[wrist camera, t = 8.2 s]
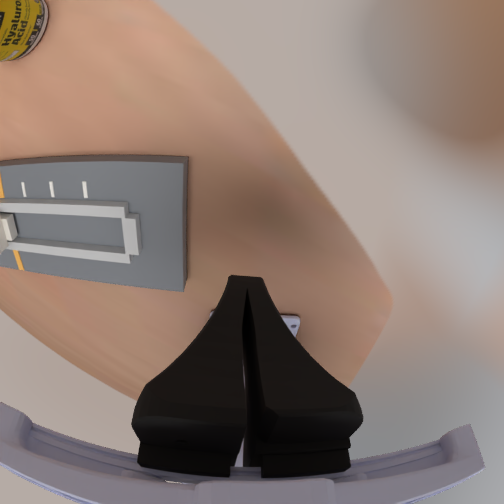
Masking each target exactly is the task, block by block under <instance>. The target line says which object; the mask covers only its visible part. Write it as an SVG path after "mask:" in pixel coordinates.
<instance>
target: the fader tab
mask: <svg viewBox="0 0 504 504" xmlns="http://www.w3.org/2000/svg"><path fill="white" fill-rule="evenodd" d="M17 236H18V233H17V230H16V226H15V222H14V218H13V214H4V213H0V254H1V253H2V252H3V251H4V250H5V249H6V248H7V247H8V246H9V245H8V242H7V240H9V241H13V240H14V239H15V238H16V237H17Z"/></svg>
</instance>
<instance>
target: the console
mask: <svg viewBox="0 0 504 504" xmlns="http://www.w3.org/2000/svg"><path fill="white" fill-rule="evenodd" d="M187 175H188V157H184V156H160V155H77V156H56V157H40V158H27V159H16V160H6V161H0V213H4V214H13V218H14V222H15V226H16V230H17V233H18V236H17V237H16V238H15V239H14V240H13V241H9V240H7V242H8V245H9V246H8V247H7V248H6V249H5V250H4V251H3V252H2V253H1V254H0V266H1V267H7V268H12V269H18V270H24V271H29V272H35V273H41V274H48V275H54V276H60V277H67V278H74V279H81V280H88V281H95V282H102V283H110V284H118V285H126V286H134V287H142V288H151V289H160V290H169V291H179V292H184V288H185V284H186V280H187V262H186V217H187Z"/></svg>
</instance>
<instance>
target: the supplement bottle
mask: <svg viewBox="0 0 504 504" xmlns="http://www.w3.org/2000/svg"><path fill="white" fill-rule="evenodd" d="M47 19H48V9H47V5H46V3H45V1H44V0H0V61H10V60H16V59H19V58H21V57H23V56H25V55H26V54H28V53H29V52H30V51H31V50H32V49H33V48H34V47H35V46H36V44H37V43H38V42H39V40H40V38H41V37H42V35H43V33H44V30H45V27H46V24H47Z"/></svg>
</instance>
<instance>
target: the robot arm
mask: <svg viewBox="0 0 504 504" xmlns="http://www.w3.org/2000/svg"><path fill="white" fill-rule="evenodd" d="M299 325H300V318H299V317H298V316H285V315H280V314H279V312H278V310H277V308H276V307H275V305H274V303H273V301H272V299H271V297H270V295H269V293H268V290H267V288H266V286H265V283H264V280H263V279H262V278H261V277H250V276H238V275H231V276H229V277H228V282H227V285H226V288H225V291H224V293H223V295H222V297H221V299H220V301H219V303H218V305H217V307H216V309H215V310H214V311H212V312H211V313H210V319H209V320H208V322H207V323H206V325H205V326H204V328H203V329H202V330H201V332H200V333H199V334H198V336H197V337H196V338H195V339H194V340H193V342H192V343H191V344H190V345H189V346H188V347H187V349H186V350H185V351H184V352H183V353H182V354H181V355H180V356H179V357H178V358H177V359H176V360H175V361H174V362H173V363H171V364H170V365H169V366H168V367H167V368H166V369H165V370H164V371H163V372H161V373H160V374H159V375H157V376H156V377H155V378H154V379H152V380H151V381H150V382H148V383H147V384H146V385H145V387H144V389H143V391H142V392H141V394H140V396H139V399H138V401H137V403H136V406H135V409H134V413H133V418H132V423H131V425H132V428H133V430H134V432H135V433H136V435H137V437H138V438H139V440H140V447H139V453H138V455H136V454H131V453H126V452H122V451H117V450H114V449H110V448H106V447H102V446H99V445H95V444H91V443H88V442H84V441H81V440H79V439H75V438H72V437H69V436H66V435H64V434H61V433H58V432H55V431H53V430H50V429H47V428H45V427H42V426H40V425H37V424H35V423H32V421H31V420H30V418H29V417H28V416H26V415H25V414H24V413H22V412H21V411H19V410H16V409H15V408H13V407H10V406H8V405H6V404H4V403H2V402H0V465H1V466H3V467H4V468H6V469H8V470H9V471H11V472H12V473H14V474H16V475H18V476H19V477H21V478H23V479H25V480H27V481H29V482H32V483H33V484H35V485H38V486H39V487H42V488H44V489H46V490H48V491H50V492H53V493H55V494H57V495H60V496H62V497H65V498H67V499H70V500H72V501H75V502H77V503H80V504H413V503H416V502H418V501H421V500H423V499H426V498H429V497H431V496H434V495H436V494H438V493H441V492H443V491H445V490H448V489H450V488H452V487H454V486H456V485H458V484H460V483H462V482H463V481H465V480H467V479H469V478H470V477H472V476H474V475H476V474H478V473H479V472H481V471H483V470H484V469H485V465H484V462H483V458H482V456H481V452H480V450H479V447H478V444H477V441H476V438H475V435H474V433H473V430H472V427H471V425H470V424H467V425H464V426H462V427H459V428H456V429H453V430H451V431H449V432H448V433H446V434H445V435H443V436H442V437H441V438H440V439H439V440H436V441H433V442H430V443H427V444H423V445H419V446H416V447H412V448H408V449H404V450H400V451H396V452H392V453H387V454H382V455H377V456H372V457H367V458H361V459H356V460H350V457H349V452H348V449H349V448H350V446H351V444H350V439H349V437H350V436H351V435H352V434H353V433H354V432H355V431H356V430H357V429H358V428H359V427H360V425H361V424H362V422H363V414H362V410H361V407H360V404H359V402H358V399H357V397H356V395H355V393H354V392H353V391H352V390H350V389H349V388H347V387H346V386H345V385H343V384H342V383H340V382H339V381H338V380H336V379H335V378H334V377H333V376H331V375H330V374H329V373H328V372H327V371H326V370H325V369H324V368H323V367H321V366H320V365H319V364H318V363H317V362H316V361H315V360H314V359H313V358H312V357H311V356H310V354H309V353H308V352H307V351H306V350H305V349H304V348H303V346H302V345H301V344H300V343H299V342H298V340H297V339H296V338H295V337H296V334H297V331H298V328H299ZM165 480H166V481H173V482H180V483H182V484H180V483H168V482H166V481H165Z"/></svg>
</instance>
